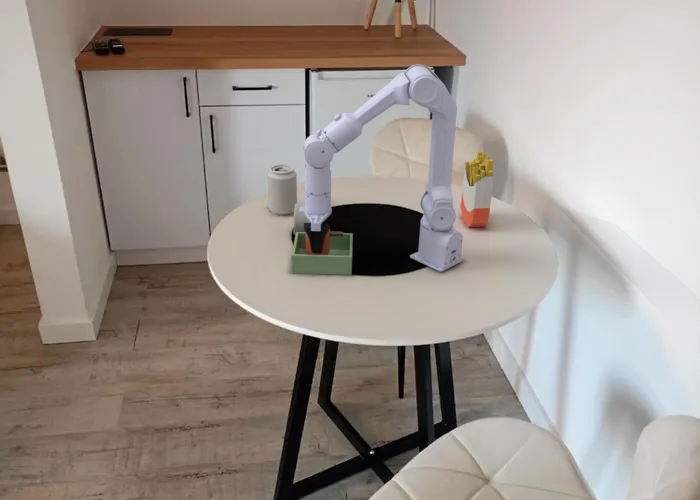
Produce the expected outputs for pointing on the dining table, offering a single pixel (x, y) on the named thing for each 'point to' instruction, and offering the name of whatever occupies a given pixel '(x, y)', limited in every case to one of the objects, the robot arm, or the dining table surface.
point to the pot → (326, 243)
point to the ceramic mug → (299, 219)
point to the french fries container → (477, 191)
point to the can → (282, 189)
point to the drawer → (323, 256)
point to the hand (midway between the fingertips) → (317, 246)
